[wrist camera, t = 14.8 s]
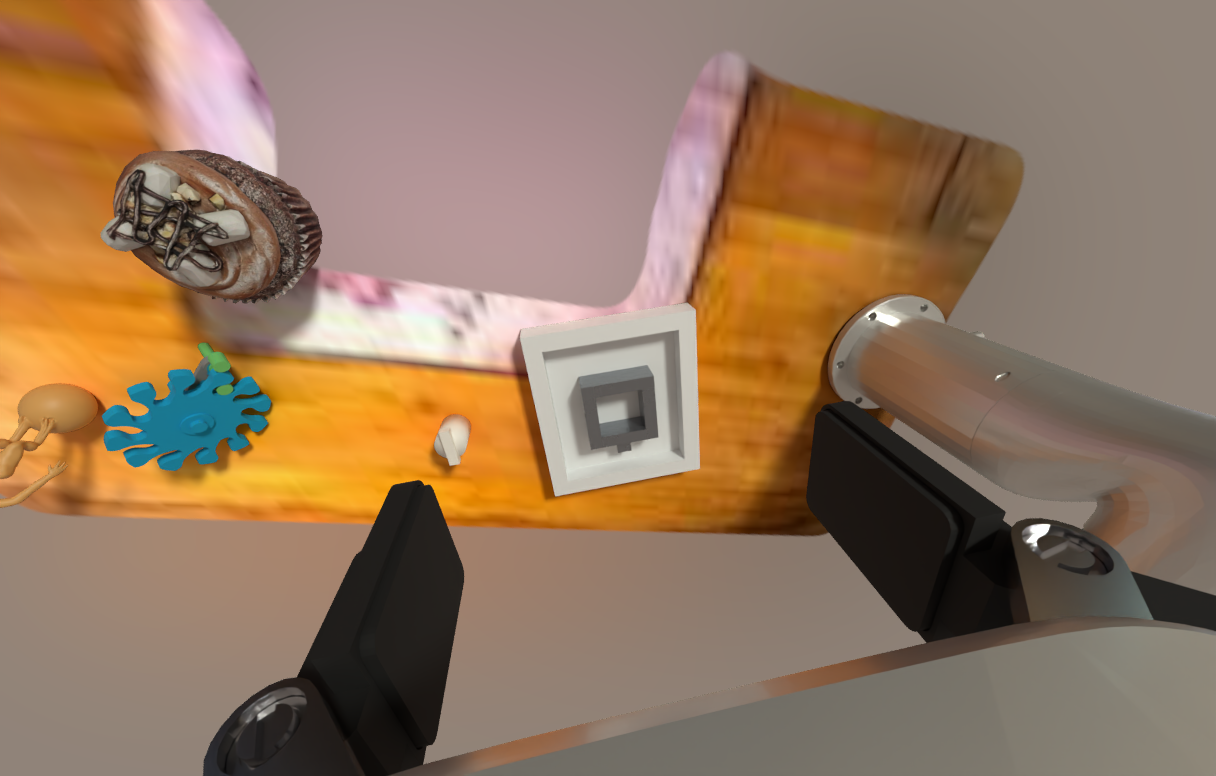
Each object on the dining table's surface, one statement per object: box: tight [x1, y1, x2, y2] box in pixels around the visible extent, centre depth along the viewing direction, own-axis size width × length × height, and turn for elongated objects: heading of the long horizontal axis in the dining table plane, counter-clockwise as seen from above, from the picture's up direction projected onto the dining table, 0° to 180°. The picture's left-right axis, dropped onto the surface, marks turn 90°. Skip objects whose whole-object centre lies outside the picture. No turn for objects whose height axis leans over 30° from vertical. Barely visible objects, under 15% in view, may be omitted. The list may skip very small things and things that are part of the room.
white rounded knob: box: [434, 414, 471, 466], centre depth 41 cm, size 3×4×4 cm
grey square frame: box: [579, 365, 658, 453], centre depth 43 cm, size 7×8×3 cm
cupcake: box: [101, 150, 322, 304], centre depth 29 cm, size 10×10×10 cm
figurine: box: [0, 384, 98, 508], centre depth 32 cm, size 8×6×12 cm
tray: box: [520, 303, 700, 496], centre depth 43 cm, size 16×18×2 cm
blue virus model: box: [102, 343, 271, 471], centre depth 36 cm, size 11×6×10 cm
